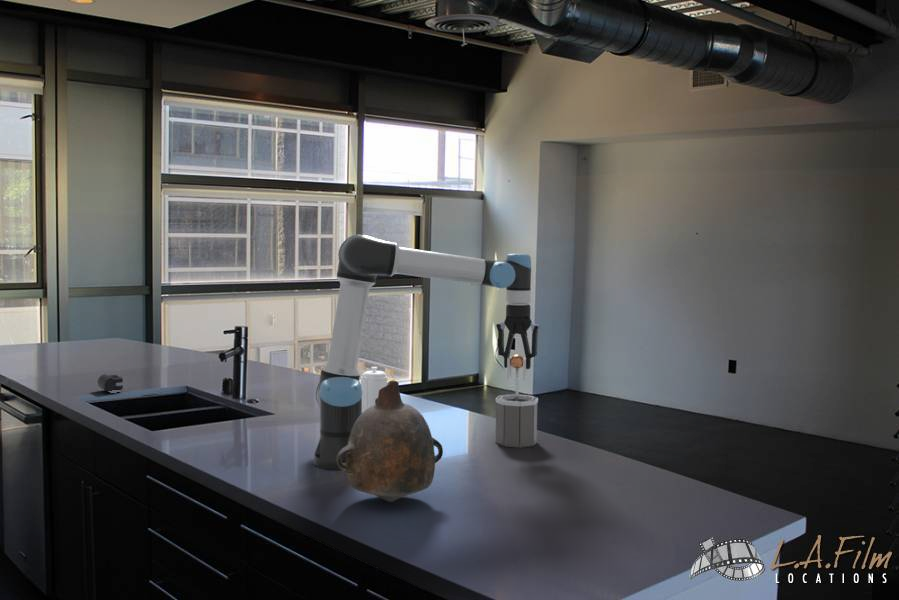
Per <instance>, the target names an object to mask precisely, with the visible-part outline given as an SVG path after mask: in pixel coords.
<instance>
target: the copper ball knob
mask: <svg viewBox="0 0 899 600" xmlns="http://www.w3.org/2000/svg"><path fill="white" fill-rule="evenodd" d="M511 357H512V358H511V360H510V363H511V366H512V369H515V388H514V389H515V391H514V392H515V393H514V394H515V401H518V397H519V395H520V394H519V393H520V392H519V387H520V384H519V383H520V381H519V380H520V379H519V378H520V372H519V371H520V369H521V368H522V369H523V359H524V358H525V357H523V355H520V354H515V355H513V356H511Z"/></svg>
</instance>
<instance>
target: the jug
mask: <svg viewBox="0 0 899 600" xmlns="http://www.w3.org/2000/svg"><path fill="white" fill-rule="evenodd" d="M399 386H400V385H399V381H396V380H394V379H391V380H389V381H387V385H386V386H385V387H383V388H381V389H380V390H379V395H378V398H376V400H375V405H373V406H371V407H369V408H368V409H366V410H365V411H364V412H363V413H362V414H361V415H360V416H359V417H358V418H357V420H356V422H355V424H354V426H353V428H352V430H351V433H350V437H349V441H348V445H347V446H345V447H344V448H343V449H341V450H340V451H339V453H338V455H337V459H336V462H337V465H338V467H339V468H340V469H341V471H343V472H345V475H346V478H347V482H348V484H349V485H350V486H351V487H352V488H353V489H355V490H357V491H359V492H361V493H365V494H367V495H368V494H369V495H373V496H376V497H378V498H380V499H382V500H384V501H386V502H390V503H393V502H395V501H397V500H399V499H402V498H404V497H406V496H409V495H413V494H416V493H419V492H422V491H424V490H426V489H428V488H429V487H430V486H431V485H432V483H433V481H434V478H435V477H434V476H435V470H436V468H435V467H436V464H437V462H439V461H440V460H441V459H442V457H443V453H444V450H443V449H444V448H443V446H442V444H441V442H440V441H438V440H437V439H436V438H434V437H432V432H431V428H430V427H429V425H428V422H427V420H426V419H425V417H424V416H423V415H422V413H421V412H419V410H418V409H417V408H415V407H413V406H412V405H410V404H408V403H404V402H403V400H402V398H401V392H400V387H399ZM435 447H436V448H437V452H438V453H437V454H436V455H435ZM344 455H346V463H342V457H343V456H344Z"/></svg>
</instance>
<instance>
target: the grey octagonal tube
mask: <svg viewBox="0 0 899 600" xmlns="http://www.w3.org/2000/svg"><path fill="white" fill-rule="evenodd" d="M538 403H539V398H538V397H536V396H533V395H528V394H519V397H518V401H515V393H512V394H501V395H498V396H497V397H495V406H496V407H495V443H496V444H498V445H499V446H502V447H508V448H516V449H517V448H529V447H533V446H535V445H537V441H538V440H537V439H538V438H537V437H538V434H537V433H538Z"/></svg>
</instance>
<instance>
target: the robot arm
mask: <svg viewBox="0 0 899 600" xmlns="http://www.w3.org/2000/svg"><path fill="white" fill-rule="evenodd" d="M397 274H398V275H405V276H412V277H418V278H426V279H427V278H428V279H434V280H442V281H449V282H457V283H465V284H471V285H473V286H474V285H475V286H477V285H478V286H485V287H492V288H497V289H504V288H506V296H505V297H506V298H505V302H506V303H507V304H506V305H505V319H504V321H503V322H499V323H497V324H496V325H495V326H496V329H497V332H498V333H497V336H498V337H497V338H498V339H497V340H498V342H497V343H498V344H497V346H498V348H497V349H498V350H497V351H498V353H497V354H498V355H499V356H502V357H503V367H504V368H506V370H507V371H506V379H507V380H510V379H511V378H513V377H512V372H513V371H512V369H513V367H512V366H511V363H510V360H511V358H512V357H513V356H511V351H512V350H511V349H512V348H513V347H512V346H513V342H514V337H515V335H516V334H517V335H520V337H521V341H522V344H523V345H522V347H523V351H524V355H525V357H523V358H524V359H523V367H522V381H526V380H527V379H528V370H530V369H531V366H532V364H531V363H532V362H531V361H532V359H533V358H535V357H536V356H537V355H538V337H539V335H538V333H539V330H540V327H541V326H540V325H539V324H536V323H534V322H532V319H531V305H530V303H531V301H532V300H531V299H532V298H531V294H532V289H531V285H532V282H531V281H532V258H531V256H530V254H527V253H508V254H507V255H506V258H505V259H503V260H498V259H497V260H493V259H484V258H479V257H478V258H477V257H472V256H464V255H457V254H450V253H444V252H437V251H431V250H430V251H429V250H422V249H416V248H410V247H409V248H408V247H403V246H402V247H401V246H399V245H398V243H397V242H394V241H393V242H392V241H386V240H383V239H380V238H376V237H373V236H370V235H366V234H354V235H351V236H349V237H347V238H346V239H345V240H344V241H343V242H342V243H341V245H340V247H339V250H338V264H337V271H336V280H338V282H339V284H340V285H339V292H338V298H337V304H336V309H335V315H334V323H333V329H332V332H331V333H332V334H331V340H330V347H329V350H328V351H329V352H328V358H327V359H328V360H327V363H326V364H325V365H324V366H322V367H321V369H320V375H319V382H318V384H317V386H316V389H315V400H316V402H317V405H318V406H319V414H320V415H319V420H320V422H319V428H320V429H319V430H320V431H319V432H320V434H319V440H318V442H317V445H316V448H315V452H314V454H313V465H314V466H316V467H318V468H321V469H326V470H333V471H334V470H335V471H336V470H341V469H340V468H339V467H338V465H337V462H336V459H337V455H338V453H339V451H340V450H341V449H343V448H344V447H345V446H347V445H348V441H349V437H350V433H351V430H352V428H353V426H354V424H355V422H356V420H357V418H358V417H359V416H360V415H361V414H362V394H363V392H362V386H361V381H360V380H361V373H360V371H359V370H358V368H357V367H358V366H357V365H358V360H359V353H360V348H361V341H362V337H363V336H362V335H363V329H364V328H363V327H364V323H365V317H366V311H367V305H368V298H369V292H370V289H371V288H372V287H373V286H374V285H376V281H377V276H383V277H392V276H394V275H397ZM505 328H507V330H508V336H507V340H506V345H505V330H504V329H505ZM529 328H531V331H532V333H531V348H530V343H529V339H528V332H527V331H528V330H529ZM342 463H346V455H344V456H343V457H342ZM341 471H342V470H341Z"/></svg>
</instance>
